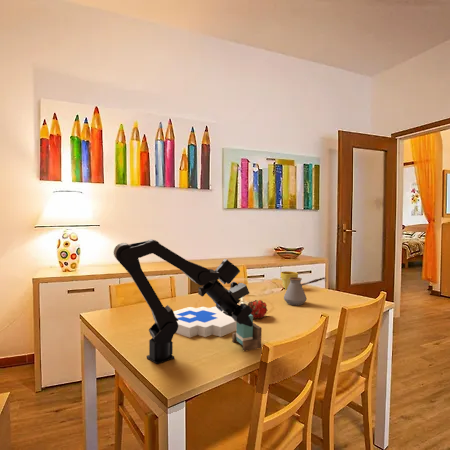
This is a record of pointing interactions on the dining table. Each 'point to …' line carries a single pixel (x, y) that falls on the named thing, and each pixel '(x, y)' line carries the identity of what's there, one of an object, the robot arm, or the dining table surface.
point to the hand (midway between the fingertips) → (248, 323)
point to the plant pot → (287, 277)
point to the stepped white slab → (204, 322)
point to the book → (244, 332)
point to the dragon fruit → (258, 308)
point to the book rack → (255, 341)
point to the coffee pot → (297, 291)
